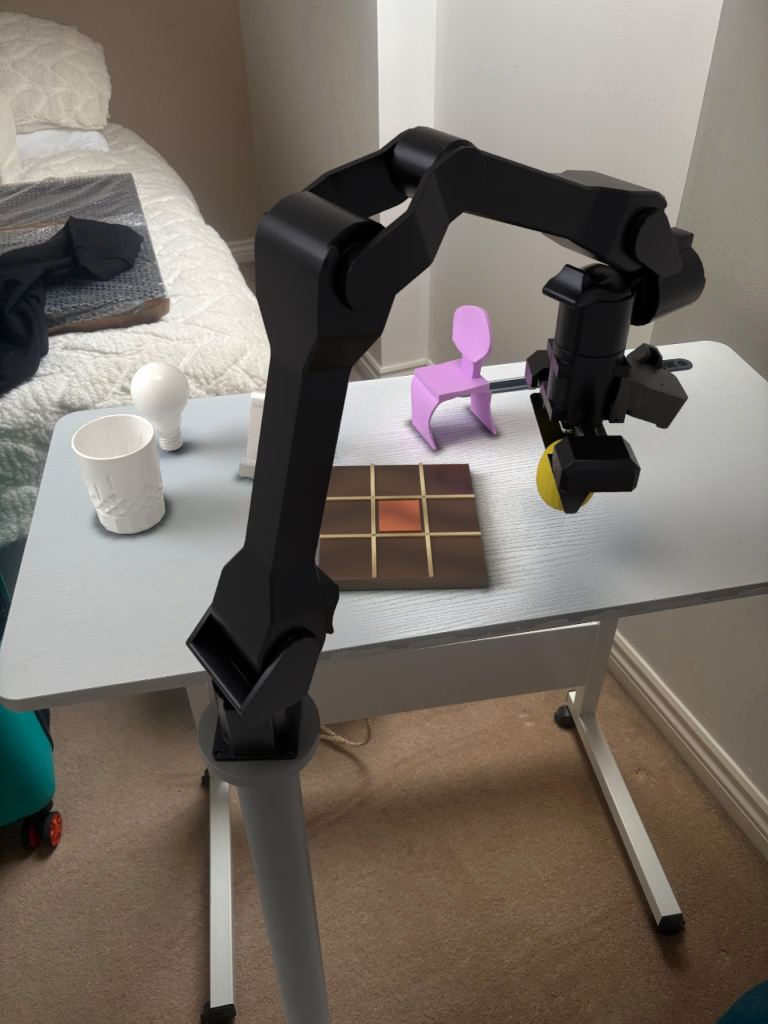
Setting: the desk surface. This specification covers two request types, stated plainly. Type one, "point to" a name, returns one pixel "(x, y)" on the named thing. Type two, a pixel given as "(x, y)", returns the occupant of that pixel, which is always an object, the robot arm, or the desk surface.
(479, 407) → the toy chair
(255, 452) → the tablet stand
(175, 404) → the lightbulb
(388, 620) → the desk surface
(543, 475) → the lemon
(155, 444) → the white cup
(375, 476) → the board
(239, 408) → the desk surface
